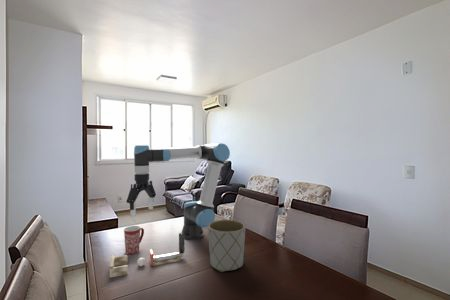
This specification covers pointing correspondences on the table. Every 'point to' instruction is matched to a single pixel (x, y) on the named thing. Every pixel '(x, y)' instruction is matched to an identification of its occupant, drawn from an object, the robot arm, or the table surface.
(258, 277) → the table surface
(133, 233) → the mug
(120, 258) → the beige block
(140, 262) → the ball
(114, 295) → the table surface
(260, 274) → the table surface
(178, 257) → the strip
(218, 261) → the planter
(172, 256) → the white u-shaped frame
